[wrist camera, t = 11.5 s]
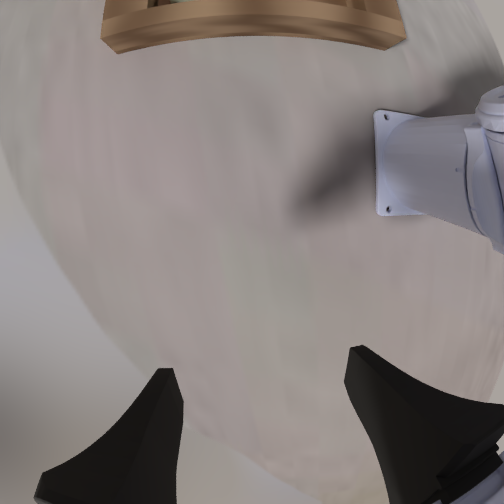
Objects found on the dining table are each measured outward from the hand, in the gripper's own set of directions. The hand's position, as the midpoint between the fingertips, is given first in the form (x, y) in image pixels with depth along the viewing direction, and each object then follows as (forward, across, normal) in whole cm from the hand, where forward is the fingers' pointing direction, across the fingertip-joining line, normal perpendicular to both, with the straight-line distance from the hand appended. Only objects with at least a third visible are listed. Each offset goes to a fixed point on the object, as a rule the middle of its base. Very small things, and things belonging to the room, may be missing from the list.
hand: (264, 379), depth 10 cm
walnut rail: (+10, -2, -23) cm, 25 cm away
